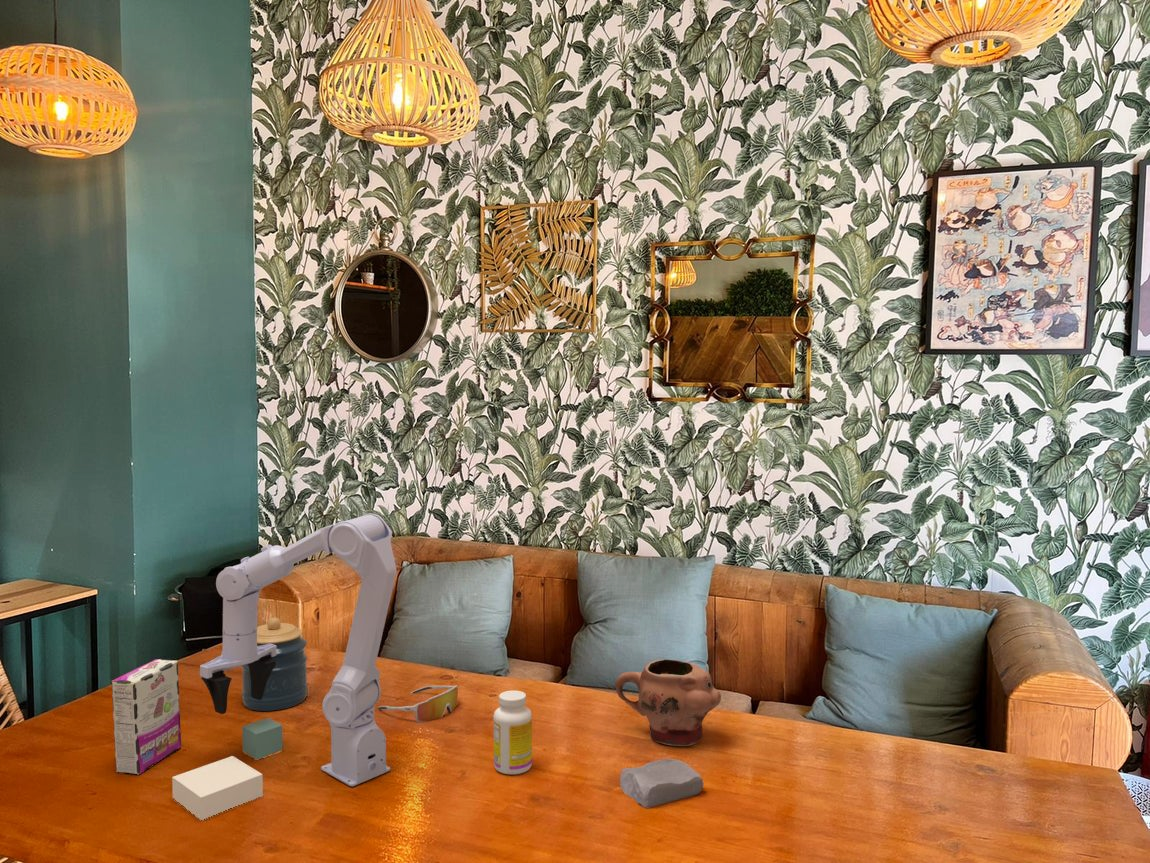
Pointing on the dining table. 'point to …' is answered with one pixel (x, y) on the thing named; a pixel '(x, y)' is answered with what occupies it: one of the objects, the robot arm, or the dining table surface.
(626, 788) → the stone block
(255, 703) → the canister
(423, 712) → the sunglasses
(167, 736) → the candy bar box
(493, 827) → the dining table surface
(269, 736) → the teal cube
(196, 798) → the cream block
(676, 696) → the sculpted ceramic mug
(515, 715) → the supplement bottle
